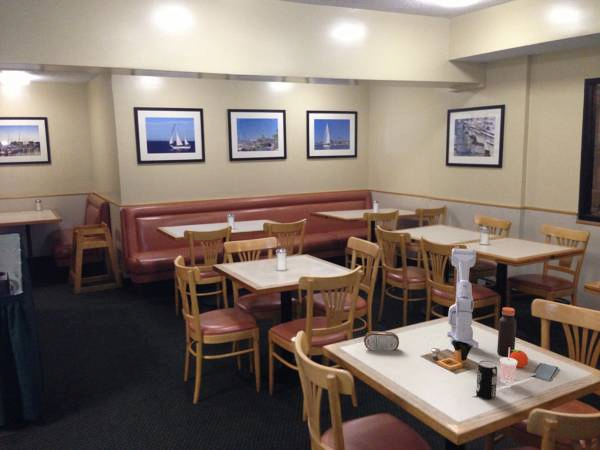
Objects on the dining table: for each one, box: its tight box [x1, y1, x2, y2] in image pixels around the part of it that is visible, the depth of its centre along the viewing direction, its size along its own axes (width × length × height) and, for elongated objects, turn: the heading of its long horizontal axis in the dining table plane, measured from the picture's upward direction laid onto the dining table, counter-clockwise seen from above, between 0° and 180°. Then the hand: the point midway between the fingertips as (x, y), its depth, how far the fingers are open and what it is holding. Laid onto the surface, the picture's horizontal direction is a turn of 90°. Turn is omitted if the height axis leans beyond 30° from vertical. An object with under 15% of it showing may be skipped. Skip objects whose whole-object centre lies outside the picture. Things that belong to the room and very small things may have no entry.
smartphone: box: [530, 362, 560, 382], centre depth 205 cm, size 7×1×15 cm
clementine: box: [509, 349, 529, 369], centre depth 210 cm, size 8×7×7 cm
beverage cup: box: [499, 347, 517, 387], centre depth 194 cm, size 6×6×14 cm
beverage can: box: [475, 360, 499, 400], centre depth 184 cm, size 7×7×12 cm
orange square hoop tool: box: [437, 349, 466, 371], centre depth 210 cm, size 12×7×5 cm, turn 120°
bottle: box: [496, 306, 517, 357], centre depth 222 cm, size 7×7×20 cm
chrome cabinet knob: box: [430, 347, 441, 360], centre depth 216 cm, size 3×3×4 cm
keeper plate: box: [419, 348, 479, 375], centre depth 214 cm, size 16×20×1 cm
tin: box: [363, 330, 400, 351], centre depth 225 cm, size 15×3×8 cm, turn 84°
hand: (461, 358), depth 212 cm, fingers closed on orange square hoop tool
